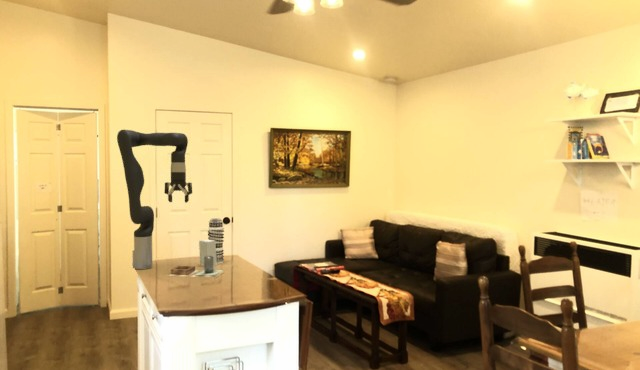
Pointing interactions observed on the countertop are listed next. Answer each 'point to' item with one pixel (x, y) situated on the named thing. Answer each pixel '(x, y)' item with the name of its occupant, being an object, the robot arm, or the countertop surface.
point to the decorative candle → (217, 237)
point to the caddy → (192, 272)
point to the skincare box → (207, 250)
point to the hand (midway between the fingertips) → (178, 202)
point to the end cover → (208, 264)
